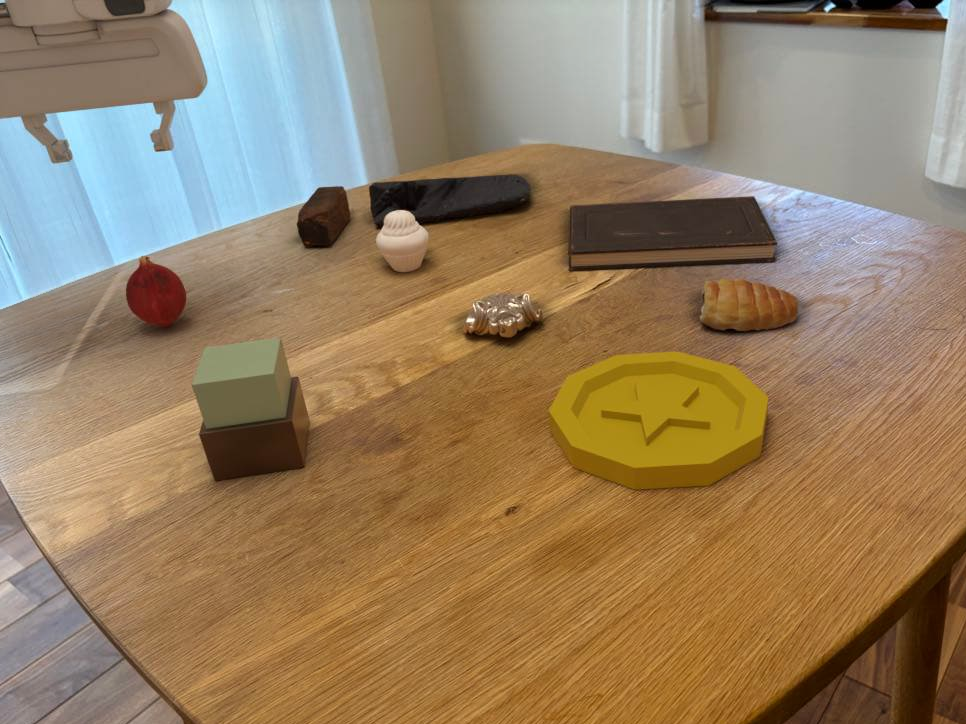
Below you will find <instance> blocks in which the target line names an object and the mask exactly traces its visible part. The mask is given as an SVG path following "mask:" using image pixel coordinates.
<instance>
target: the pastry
mask: <svg viewBox="0 0 966 724" xmlns="http://www.w3.org/2000/svg"><path fill="white" fill-rule="evenodd" d="M703 285H704V286H703V288H702V292H701V300H702V303H703V304H702V306H701V308H700V313H701V315H700V316H699V320H700V322H701V323H703V324H704V325H706V326H707V327H710V328H711V329H713V330H719V331H726V330H728V329H733V330H735V331H736V332H748V331H751V330H754V331H757V332H759V331H760V330H765V331H767V330H770V329H777V328H779V327H783V326H784V325H787V324H791V323H794V322H795V320H796V319H797V318H798V315H799V307H798V304H799V299H798V298H797V296H795V295H793V294H791V293H790V292H789V291H786V290H783V289H777V288H776V287H774V286H772V285H765V284H763V283H761V282H750V281H749V280H747V279H745V278H739V279H737V280H733V279H730V278H726V277H724V278H721V279H719V281H715V280H705V281H704V284H703Z"/></svg>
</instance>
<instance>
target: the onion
mask: <svg viewBox="0 0 966 724" xmlns="http://www.w3.org/2000/svg"><path fill="white" fill-rule="evenodd" d="M138 260H139V265H138V267H137V268H136V269H135V270H134V271H133V273H132V274H130V276H129V278H128V280H127V282H126V287H125V298H126V303H127V306H128V308H129V309H130V311H131V313H132V314H134V315H135V316H136V317H137V318H138V319H139V320H141V321H143V322H144V323H147V324H149V325H153V326H156V327H159V328H163V329H164V328H169V327H170V326H172V324H173V323H174V322H175V321H176V320H178V318H180V316H181V315H182V313H183V311H184V309H185V306H186V304H187V291H186V288H185V284H184V283H183V280H181V278H180V276H178V274H177V273H176V272H174V271H173V270H172V269H170V268H168V267H167V266H164V265H162V264H159V263H155V262H153V261H151V259H150V257H149V256H147V255H141V256H140V257H139V258H138Z"/></svg>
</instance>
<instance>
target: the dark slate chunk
mask: <svg viewBox="0 0 966 724" xmlns="http://www.w3.org/2000/svg"><path fill="white" fill-rule="evenodd" d="M368 191H369V194H368V195H369V199H370V202H369V203H370V204H369V205H370V213H371V217H372V218H373V223H374V224H375V225H377V226H380V227H383V226H384V219H385V217H386V215H388V214H389V213H390V212H393V211H397V210H405V211H409V210H410V211H409V212H410V213H411V214H413V216H414V217H415V221H417V222H418V224H422V223H430V222H431V223H432V222H434V223H435V222H439V221H440V222H441V221H442V220H448V219H460V218H464V217H467V218H471V217H473V216H481V215H491V214H494V213H497V214H498V213H500V214H501V213H502V212H503V211H506V210H507V209H512V208H515V207H516V206H519V205H522V204H524V203H525V202H526V201H527V199H528V198H529V196H530V191H531V184H530V183H529V182H528V181H527V179H525V177H523V176H522V175H518V174H515V173H514V174H497V175H495V174H493V175H480V176H478V175H477V176H464V177H440V178H425V179H412V180H406V181H405V180H397V181H396V180H395V181H381V182H380V181H379V182H377V181H376V182H372V183H371V184H370V185H369V187H368ZM411 210H412V211H411Z"/></svg>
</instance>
